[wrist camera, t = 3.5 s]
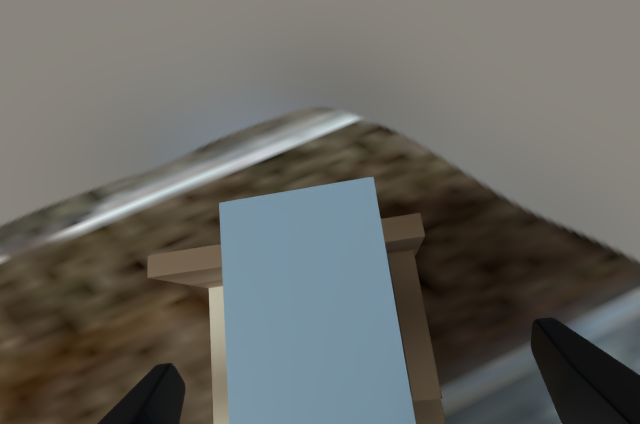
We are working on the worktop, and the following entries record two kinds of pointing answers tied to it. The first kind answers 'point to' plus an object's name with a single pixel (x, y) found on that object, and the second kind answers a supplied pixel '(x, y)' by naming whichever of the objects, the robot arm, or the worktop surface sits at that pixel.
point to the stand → (401, 250)
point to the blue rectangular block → (311, 310)
